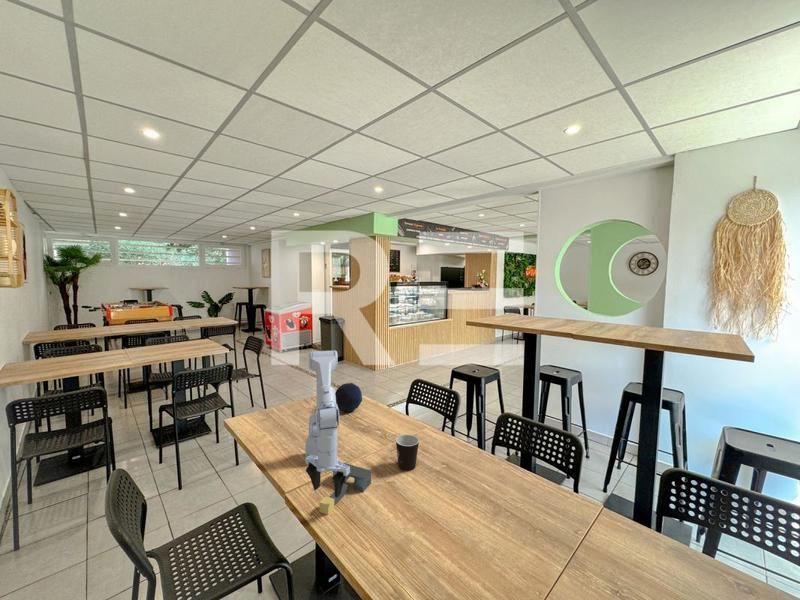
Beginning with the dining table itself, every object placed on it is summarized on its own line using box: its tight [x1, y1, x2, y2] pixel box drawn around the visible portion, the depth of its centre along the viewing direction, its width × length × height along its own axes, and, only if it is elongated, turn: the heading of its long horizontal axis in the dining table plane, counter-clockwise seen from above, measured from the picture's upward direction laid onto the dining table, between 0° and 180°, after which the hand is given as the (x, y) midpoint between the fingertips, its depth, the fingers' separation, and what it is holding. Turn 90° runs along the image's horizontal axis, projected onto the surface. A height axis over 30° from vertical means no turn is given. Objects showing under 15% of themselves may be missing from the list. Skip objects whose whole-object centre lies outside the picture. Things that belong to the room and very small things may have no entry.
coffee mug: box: [395, 434, 420, 472], centre depth 121 cm, size 12×9×10 cm
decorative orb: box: [335, 382, 363, 413], centre depth 170 cm, size 14×15×15 cm
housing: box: [332, 461, 372, 493], centre depth 110 cm, size 12×5×4 cm, turn 67°
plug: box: [318, 482, 349, 516], centre depth 101 cm, size 12×3×3 cm, turn 157°
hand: (327, 491), depth 97 cm, fingers open, 7 cm apart
